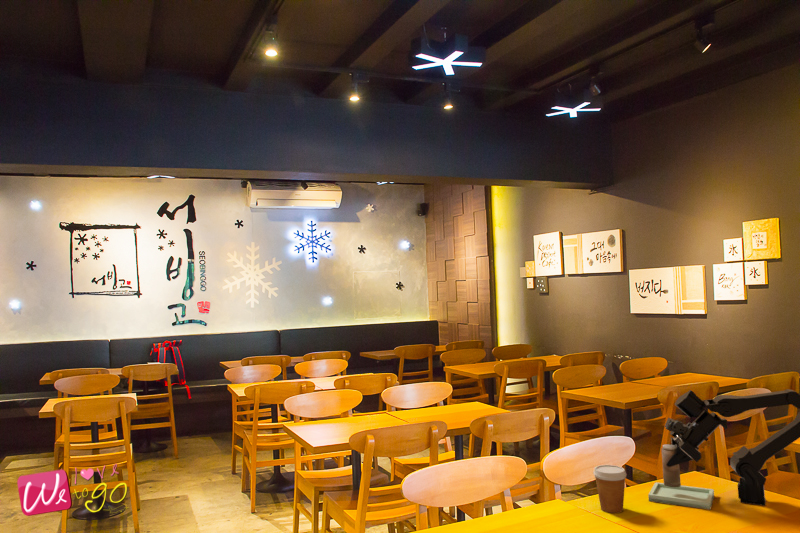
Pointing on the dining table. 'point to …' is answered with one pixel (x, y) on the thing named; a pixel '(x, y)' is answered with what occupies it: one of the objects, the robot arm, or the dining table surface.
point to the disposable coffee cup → (610, 487)
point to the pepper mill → (673, 472)
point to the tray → (682, 496)
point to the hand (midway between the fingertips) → (666, 463)
